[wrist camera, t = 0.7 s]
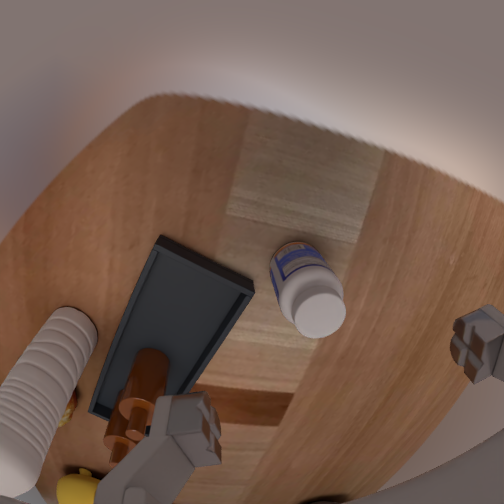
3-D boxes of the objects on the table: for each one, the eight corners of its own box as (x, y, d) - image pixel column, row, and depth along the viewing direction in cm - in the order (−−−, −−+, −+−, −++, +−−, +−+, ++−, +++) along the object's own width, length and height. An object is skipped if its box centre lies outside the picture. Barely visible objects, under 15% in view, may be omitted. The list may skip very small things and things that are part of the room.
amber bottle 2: (129, 366, 34) (107, 437, 24) (140, 341, 33) (117, 415, 23) (162, 380, 35) (149, 453, 25) (176, 357, 34) (164, 433, 24)
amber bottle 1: (113, 401, 36) (94, 466, 26) (121, 383, 35) (101, 451, 25) (143, 414, 38) (130, 479, 27) (153, 397, 36) (140, 466, 26)
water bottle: (86, 302, 31) (-21, 495, 8) (106, 349, 34) (38, 538, 11) (31, 310, 31) (-77, 463, 8) (52, 352, 34) (-27, 508, 10)
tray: (158, 426, 39) (155, 440, 37) (92, 399, 37) (87, 412, 35) (253, 280, 32) (255, 292, 30) (160, 234, 29) (155, 243, 27)
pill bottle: (309, 294, 33) (337, 351, 24) (261, 283, 32) (275, 341, 23) (329, 247, 31) (367, 293, 22) (278, 233, 30) (301, 277, 21)
